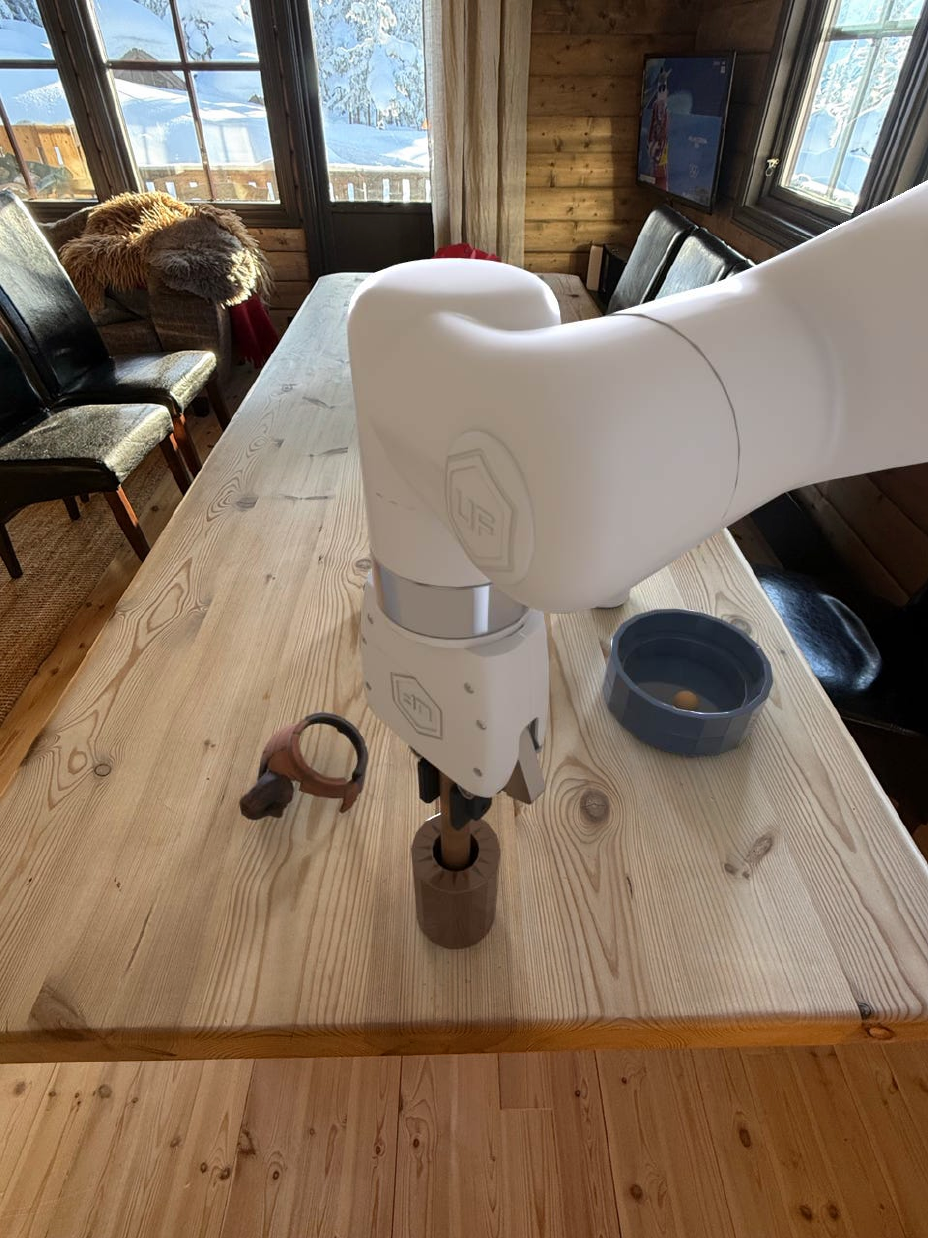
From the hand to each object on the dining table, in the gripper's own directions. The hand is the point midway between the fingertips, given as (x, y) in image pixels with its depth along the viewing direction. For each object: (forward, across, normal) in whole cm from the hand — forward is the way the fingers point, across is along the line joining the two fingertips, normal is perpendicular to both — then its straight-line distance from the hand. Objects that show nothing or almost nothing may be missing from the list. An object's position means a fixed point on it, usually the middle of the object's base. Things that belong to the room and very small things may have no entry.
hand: (455, 799), depth 42 cm
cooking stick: (+15, 0, 0) cm, 15 cm away
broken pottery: (+15, -17, -2) cm, 23 cm away
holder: (+15, 0, 0) cm, 15 cm away
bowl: (+15, +1, +32) cm, 35 cm away
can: (+15, -15, +41) cm, 46 cm away
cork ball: (+13, +3, +30) cm, 33 cm away
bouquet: (+15, -79, +83) cm, 115 cm away
